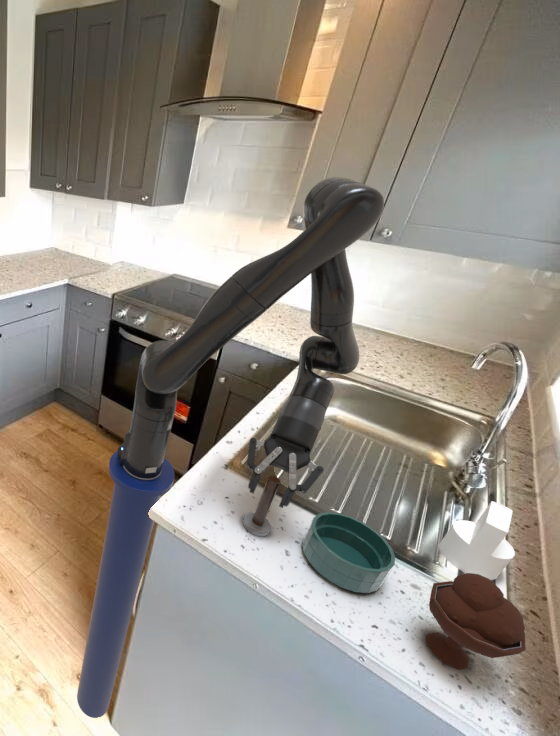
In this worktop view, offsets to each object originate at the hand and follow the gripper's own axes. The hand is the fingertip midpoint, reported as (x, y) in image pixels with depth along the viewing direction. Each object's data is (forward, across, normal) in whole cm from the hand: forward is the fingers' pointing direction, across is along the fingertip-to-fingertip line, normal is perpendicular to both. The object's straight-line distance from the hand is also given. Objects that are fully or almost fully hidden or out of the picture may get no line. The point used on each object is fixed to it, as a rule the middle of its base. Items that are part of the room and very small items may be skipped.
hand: (266, 499), depth 84 cm
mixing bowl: (+4, +15, +9) cm, 18 cm away
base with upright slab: (-10, +35, +23) cm, 43 cm away
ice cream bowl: (+9, +31, +4) cm, 33 cm away
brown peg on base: (+5, 0, +8) cm, 9 cm away
